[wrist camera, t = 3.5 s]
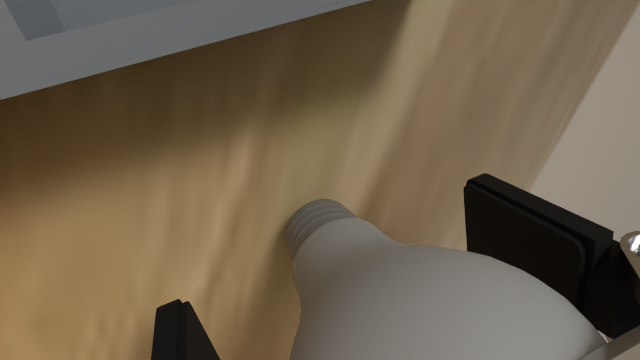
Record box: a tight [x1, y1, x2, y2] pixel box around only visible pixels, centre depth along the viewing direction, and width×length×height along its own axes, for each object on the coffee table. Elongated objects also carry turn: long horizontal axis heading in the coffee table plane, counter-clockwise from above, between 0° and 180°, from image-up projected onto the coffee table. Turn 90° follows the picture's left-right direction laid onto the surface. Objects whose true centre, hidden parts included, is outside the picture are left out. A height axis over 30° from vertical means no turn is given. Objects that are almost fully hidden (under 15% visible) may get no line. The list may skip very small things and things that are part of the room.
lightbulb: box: [286, 199, 607, 360], centre depth 9 cm, size 6×6×11 cm
